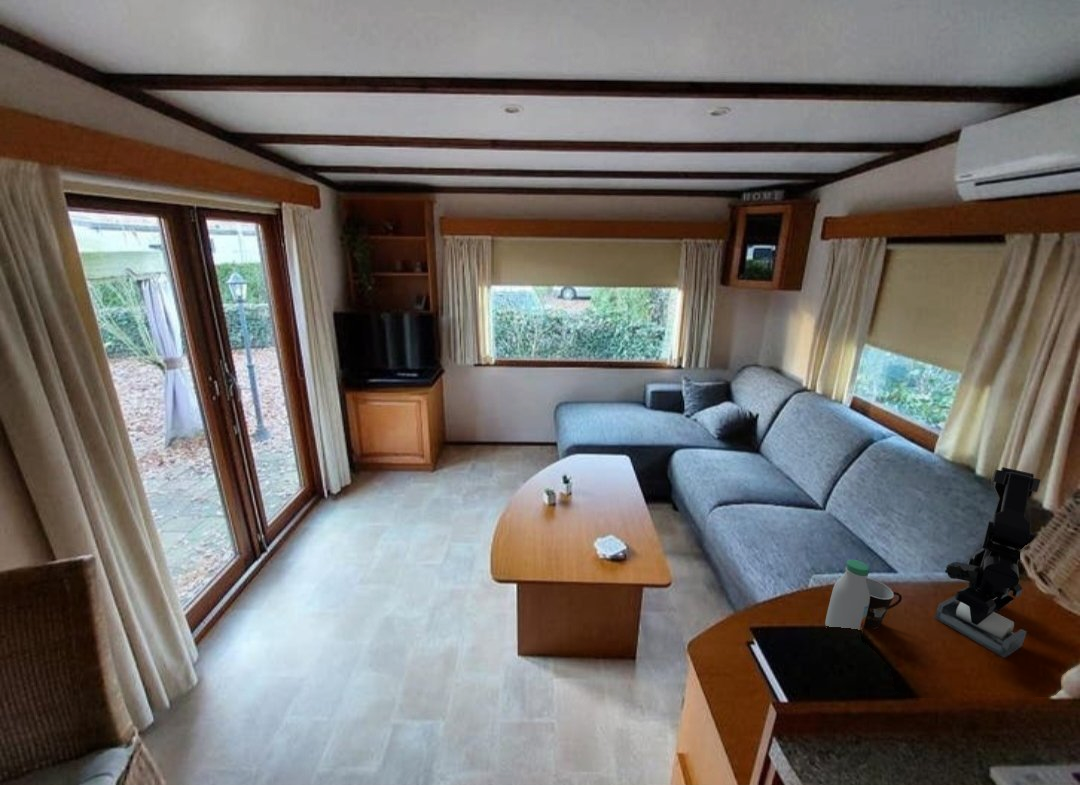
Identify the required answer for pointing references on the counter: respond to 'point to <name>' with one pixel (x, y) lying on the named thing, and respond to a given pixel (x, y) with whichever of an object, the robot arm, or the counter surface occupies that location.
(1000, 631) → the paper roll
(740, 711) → the counter surface
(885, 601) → the coffee mug
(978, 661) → the counter surface
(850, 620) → the milk bottle
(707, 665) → the counter surface
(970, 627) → the cradle holder
